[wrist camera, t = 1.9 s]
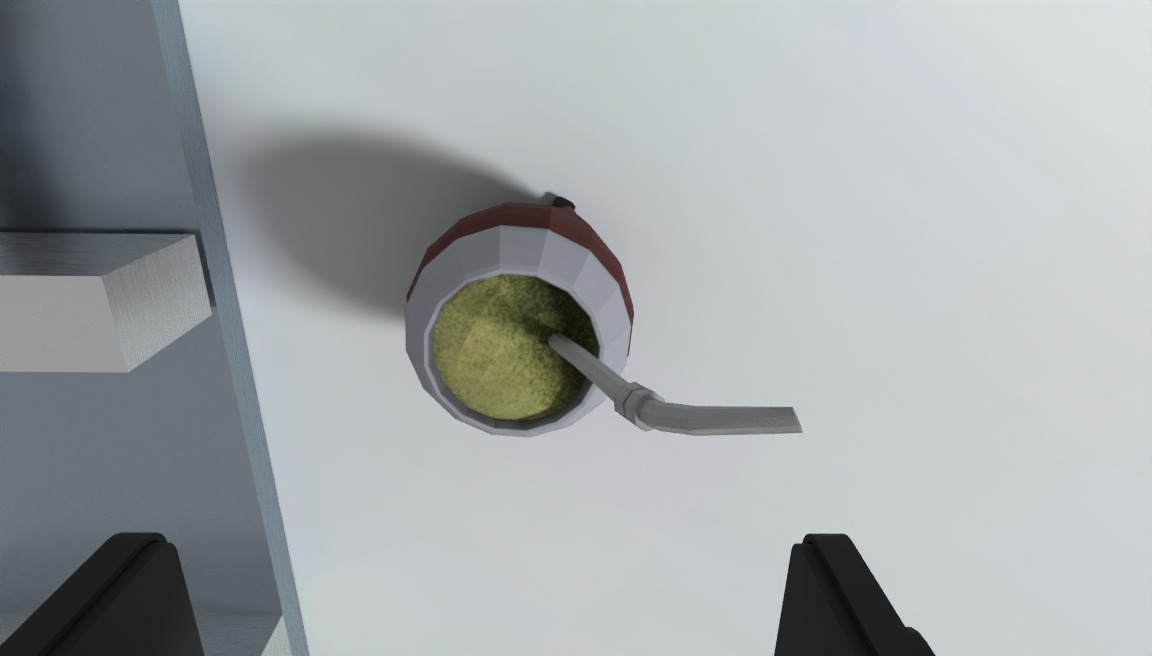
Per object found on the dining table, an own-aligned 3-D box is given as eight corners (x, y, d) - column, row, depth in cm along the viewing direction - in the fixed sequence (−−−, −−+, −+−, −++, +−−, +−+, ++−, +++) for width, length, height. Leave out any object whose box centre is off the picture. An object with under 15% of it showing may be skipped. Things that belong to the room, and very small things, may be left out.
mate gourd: (412, 306, 25) (224, 594, 12) (496, 122, 23) (382, 210, 9) (578, 382, 27) (588, 722, 13) (675, 217, 24) (817, 422, 10)
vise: (-313, -9, 21) (-667, -38, 15) (177, -1, 21) (21, -28, 15) (-8, 656, 32) (-139, 791, 26) (309, 657, 33) (250, 790, 27)
